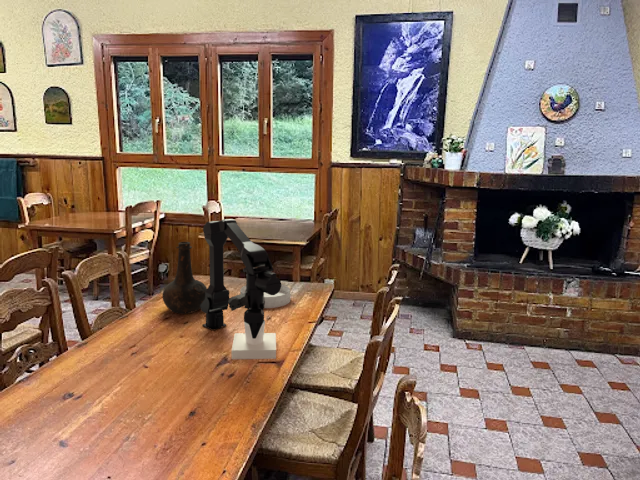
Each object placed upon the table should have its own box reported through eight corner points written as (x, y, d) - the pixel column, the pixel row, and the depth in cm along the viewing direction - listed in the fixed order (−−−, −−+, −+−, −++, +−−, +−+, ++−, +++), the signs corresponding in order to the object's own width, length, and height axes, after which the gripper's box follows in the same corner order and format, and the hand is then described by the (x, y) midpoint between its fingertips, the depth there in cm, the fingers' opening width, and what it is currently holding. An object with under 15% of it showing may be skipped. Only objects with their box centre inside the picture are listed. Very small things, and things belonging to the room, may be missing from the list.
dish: (230, 304, 204) (230, 293, 203) (252, 290, 225) (252, 280, 224) (279, 311, 198) (279, 299, 197) (297, 296, 218) (297, 285, 217)
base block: (231, 359, 152) (231, 350, 152) (234, 341, 166) (234, 333, 165) (275, 358, 154) (276, 350, 153) (275, 341, 167) (275, 333, 167)
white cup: (261, 346, 155) (261, 326, 154) (241, 344, 156) (241, 323, 155) (267, 338, 162) (267, 318, 160) (247, 336, 163) (248, 316, 162)
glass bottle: (184, 321, 183) (183, 249, 177) (153, 311, 192) (150, 242, 186) (217, 308, 198) (217, 242, 192) (186, 300, 207) (185, 236, 201)
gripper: (232, 279, 164) (232, 322, 167) (227, 296, 146) (227, 344, 149) (265, 279, 165) (264, 322, 168) (264, 296, 147) (263, 344, 150)
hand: (254, 332), depth 159 cm, fingers open, 9 cm apart
